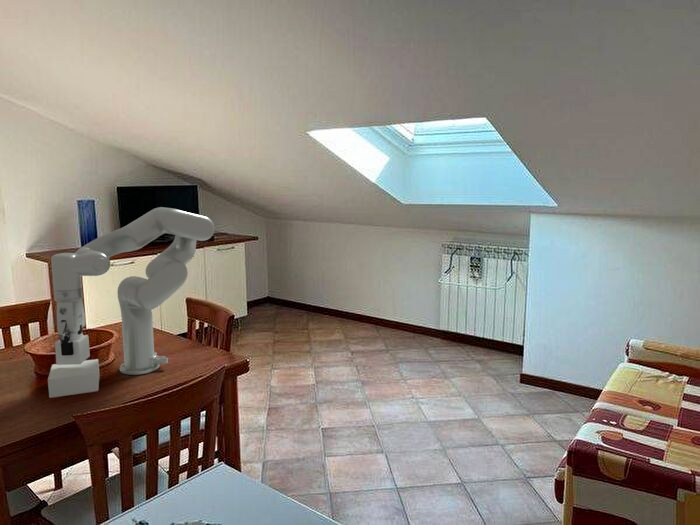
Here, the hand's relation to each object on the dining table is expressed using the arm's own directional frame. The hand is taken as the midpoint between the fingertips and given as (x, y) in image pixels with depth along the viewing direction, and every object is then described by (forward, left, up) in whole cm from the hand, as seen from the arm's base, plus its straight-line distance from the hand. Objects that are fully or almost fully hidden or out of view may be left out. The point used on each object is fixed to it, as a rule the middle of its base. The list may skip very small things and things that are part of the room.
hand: (72, 350), depth 159 cm
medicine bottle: (0, 0, -4) cm, 4 cm away
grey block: (0, 0, -12) cm, 12 cm away
